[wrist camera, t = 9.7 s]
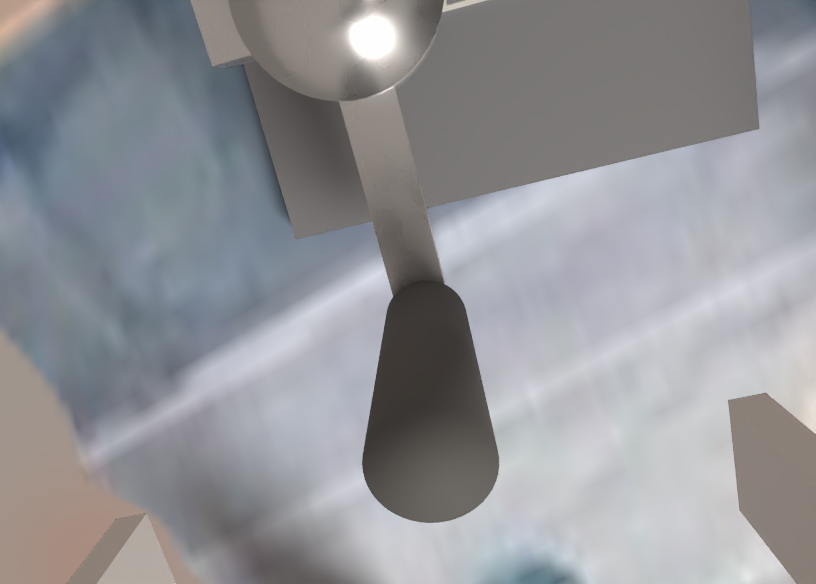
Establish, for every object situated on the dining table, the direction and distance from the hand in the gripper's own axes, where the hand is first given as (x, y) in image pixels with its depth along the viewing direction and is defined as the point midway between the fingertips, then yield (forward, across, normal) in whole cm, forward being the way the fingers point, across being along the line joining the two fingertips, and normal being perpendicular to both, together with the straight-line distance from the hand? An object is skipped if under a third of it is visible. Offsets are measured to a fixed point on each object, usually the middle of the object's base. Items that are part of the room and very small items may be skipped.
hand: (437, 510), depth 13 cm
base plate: (+21, -5, -10) cm, 24 cm away
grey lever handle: (+15, 0, -8) cm, 17 cm away
